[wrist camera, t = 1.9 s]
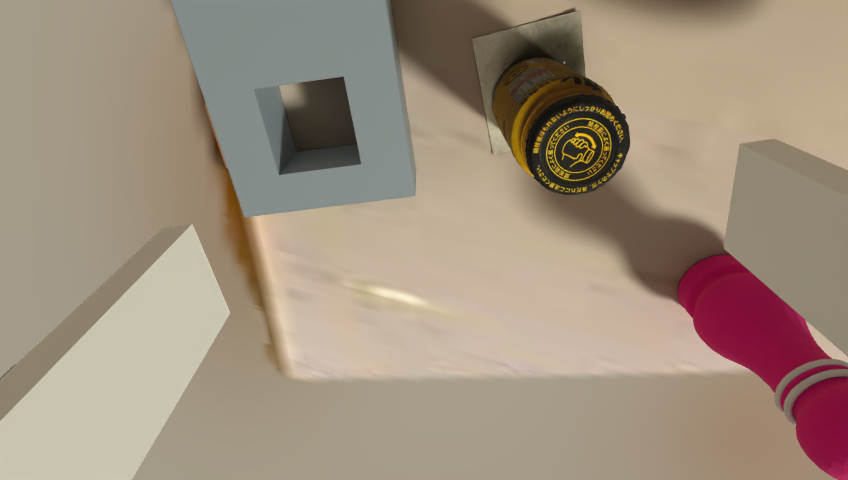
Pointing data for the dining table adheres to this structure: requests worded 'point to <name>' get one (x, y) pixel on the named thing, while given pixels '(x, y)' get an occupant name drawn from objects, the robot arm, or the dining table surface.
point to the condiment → (550, 106)
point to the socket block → (294, 63)
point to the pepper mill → (773, 353)
